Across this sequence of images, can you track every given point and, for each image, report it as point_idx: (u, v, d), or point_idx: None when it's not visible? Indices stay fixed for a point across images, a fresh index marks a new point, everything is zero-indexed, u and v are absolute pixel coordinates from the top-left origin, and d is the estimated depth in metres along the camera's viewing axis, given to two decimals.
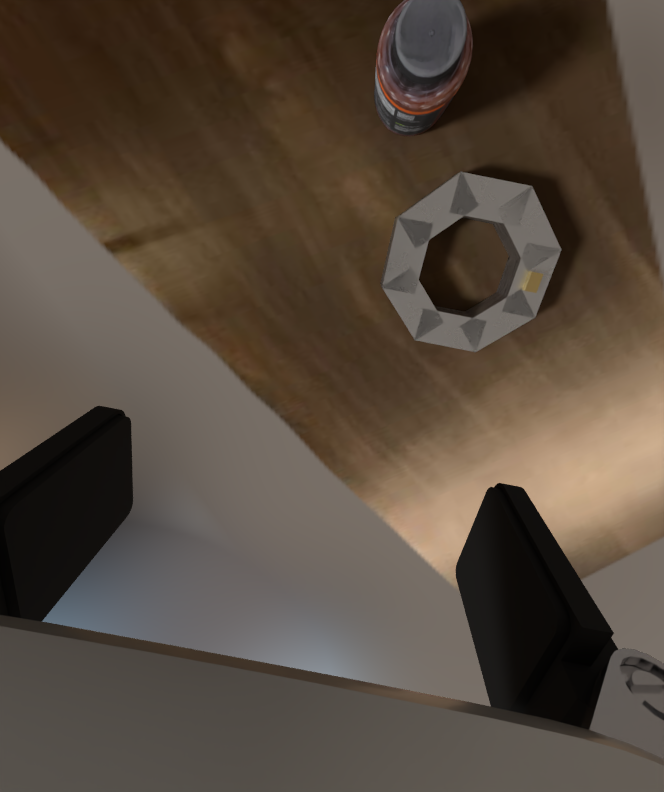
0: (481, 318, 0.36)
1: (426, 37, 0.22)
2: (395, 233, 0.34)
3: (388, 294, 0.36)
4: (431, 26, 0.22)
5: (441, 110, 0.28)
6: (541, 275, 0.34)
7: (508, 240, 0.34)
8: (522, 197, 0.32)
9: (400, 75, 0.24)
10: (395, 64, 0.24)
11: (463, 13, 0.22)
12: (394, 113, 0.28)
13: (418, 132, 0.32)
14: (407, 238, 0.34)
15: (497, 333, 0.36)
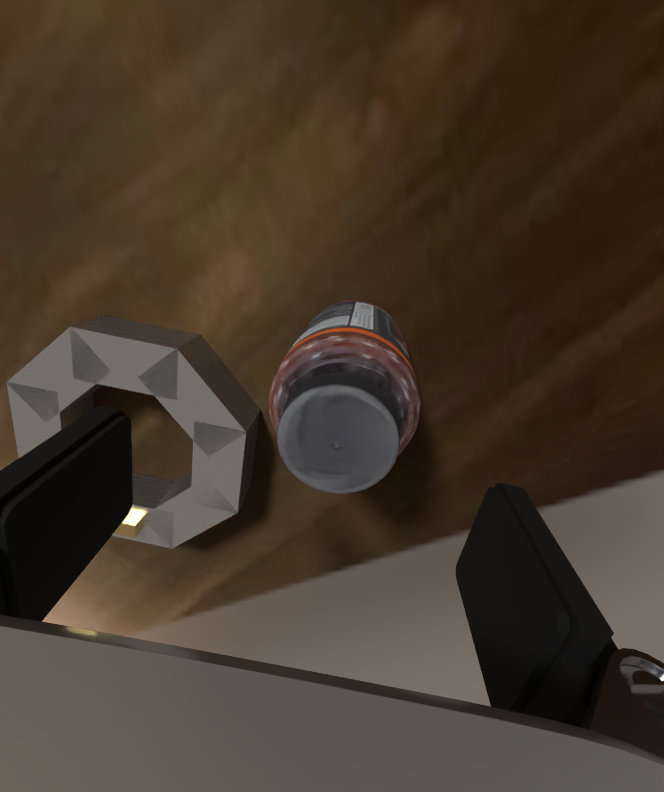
0: None
1: (331, 438, 0.13)
2: (153, 345, 0.21)
3: (62, 337, 0.21)
4: (345, 444, 0.13)
5: None
6: (133, 536, 0.25)
7: (179, 488, 0.26)
8: (223, 504, 0.24)
9: (301, 381, 0.14)
10: (317, 373, 0.14)
11: (360, 488, 0.13)
12: None
13: None
14: (150, 364, 0.21)
15: None
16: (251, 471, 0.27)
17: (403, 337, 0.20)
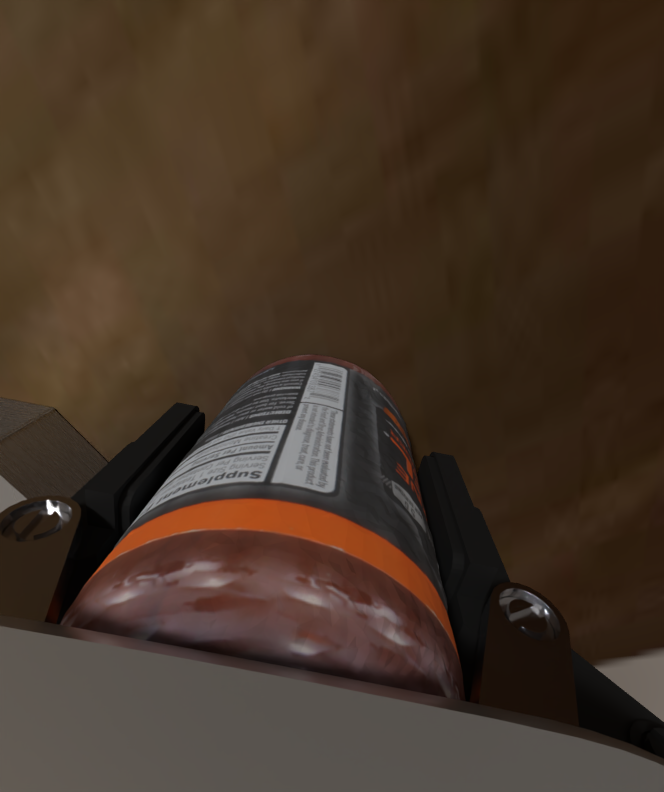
0: None
1: None
2: None
3: None
4: None
5: None
6: None
7: None
8: None
9: None
10: None
11: None
12: None
13: None
14: None
15: None
16: None
17: (404, 429, 0.11)
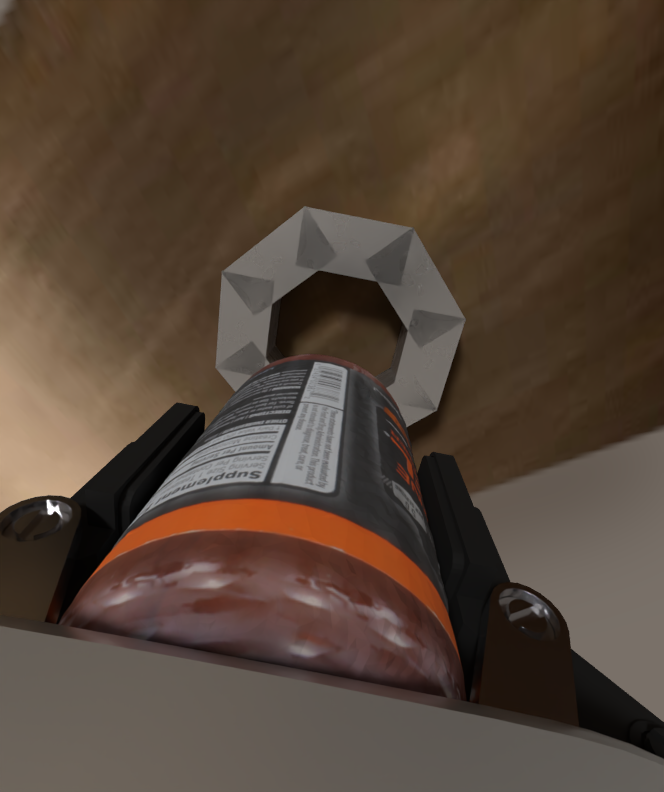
0: None
1: None
2: (389, 225, 0.21)
3: (293, 219, 0.21)
4: None
5: None
6: None
7: None
8: (424, 401, 0.25)
9: None
10: None
11: None
12: None
13: None
14: (380, 246, 0.21)
15: None
16: None
17: (404, 429, 0.11)
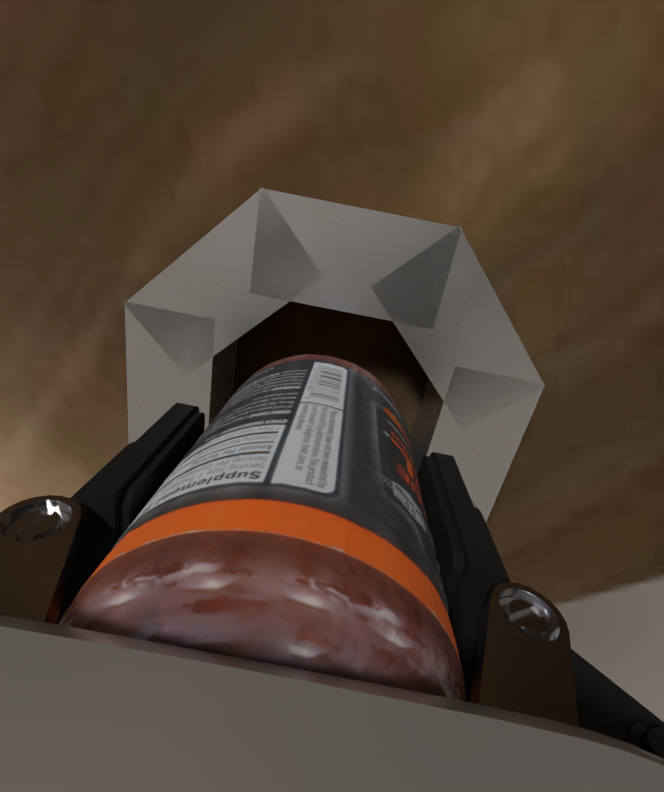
0: None
1: None
2: (416, 223, 0.11)
3: (242, 211, 0.12)
4: None
5: None
6: None
7: None
8: None
9: None
10: None
11: None
12: None
13: None
14: (400, 260, 0.12)
15: None
16: None
17: (404, 429, 0.11)
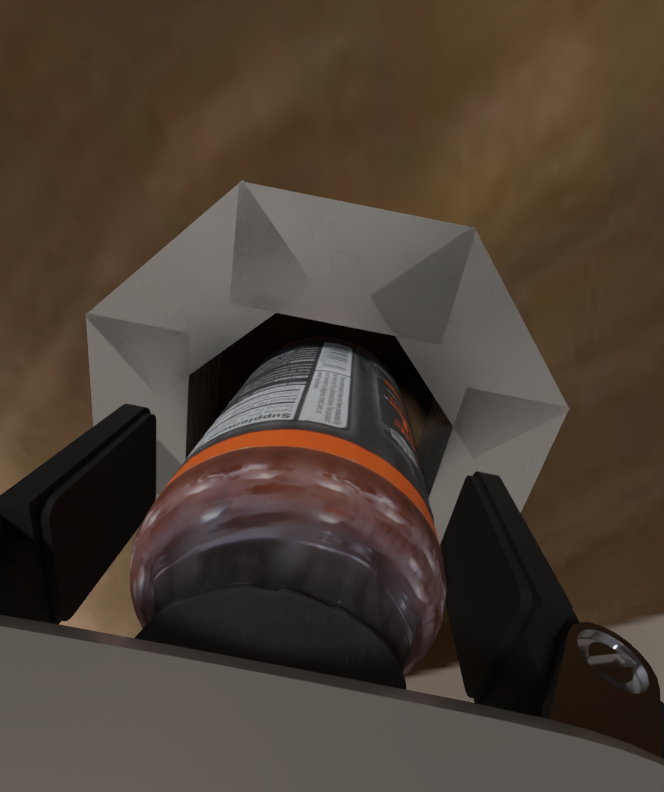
0: None
1: None
2: (422, 222, 0.10)
3: (218, 209, 0.10)
4: None
5: None
6: None
7: None
8: None
9: (175, 579, 0.06)
10: (207, 567, 0.06)
11: None
12: None
13: None
14: (403, 266, 0.10)
15: None
16: None
17: (401, 399, 0.13)
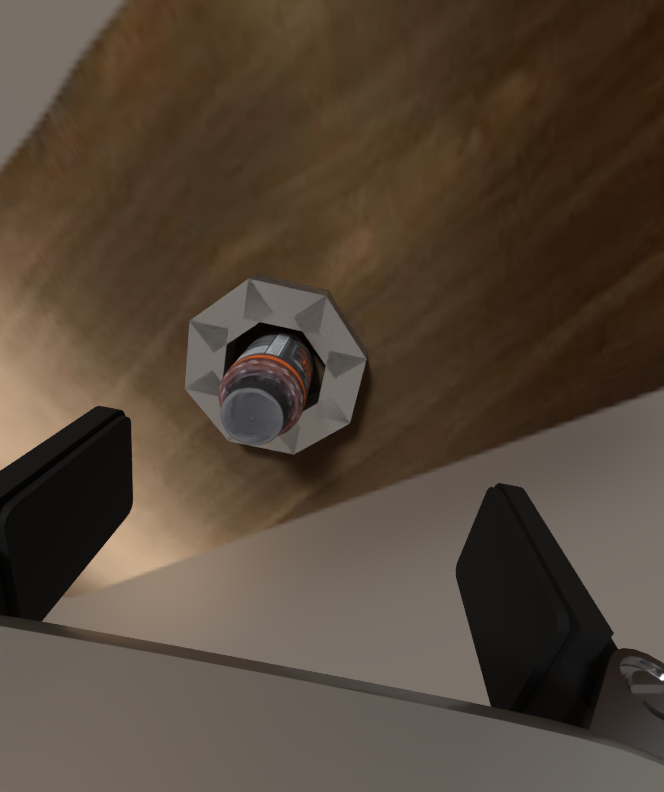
0: None
1: (248, 414, 0.24)
2: (309, 293, 0.29)
3: (241, 286, 0.29)
4: (255, 418, 0.24)
5: None
6: (269, 442, 0.34)
7: None
8: (340, 416, 0.33)
9: (234, 385, 0.25)
10: (242, 380, 0.25)
11: (265, 442, 0.25)
12: None
13: None
14: (303, 307, 0.30)
15: (208, 408, 0.33)
16: None
17: (308, 356, 0.32)
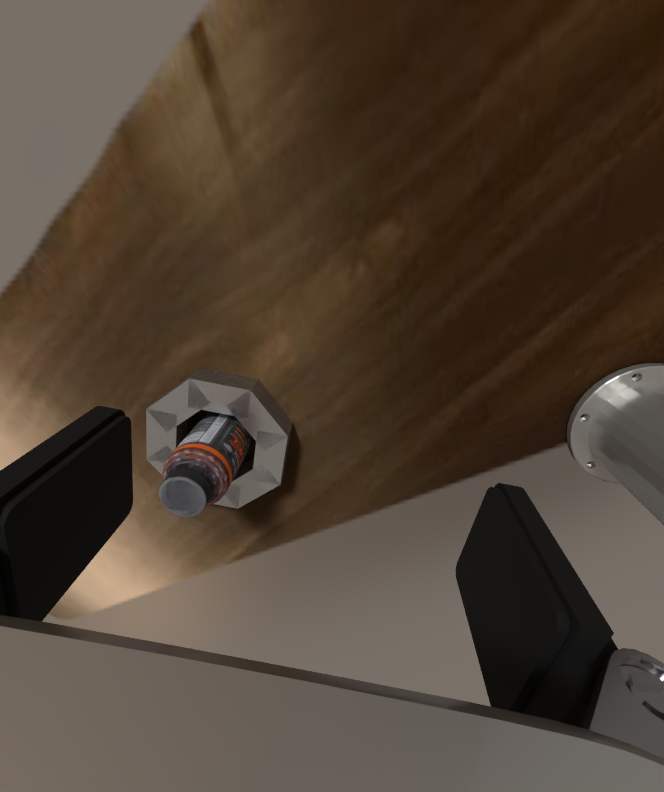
0: None
1: (179, 495, 0.32)
2: (237, 388, 0.37)
3: (183, 384, 0.37)
4: (185, 498, 0.32)
5: None
6: None
7: (243, 471, 0.42)
8: (272, 479, 0.41)
9: (171, 470, 0.33)
10: (177, 467, 0.33)
11: (194, 514, 0.33)
12: None
13: None
14: (234, 398, 0.38)
15: None
16: (286, 460, 0.43)
17: (243, 432, 0.40)
